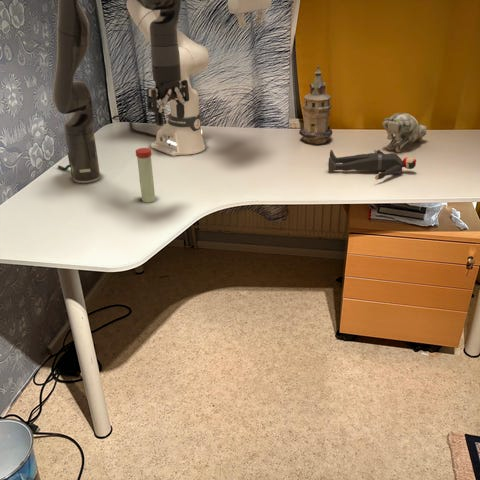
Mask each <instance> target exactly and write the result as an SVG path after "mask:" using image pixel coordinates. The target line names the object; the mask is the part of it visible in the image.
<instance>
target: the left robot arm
mask: <svg viewBox="0 0 480 480" xmlns="http://www.w3.org/2000/svg"><path fill="white" fill-rule="evenodd" d="M136 1H137V2H138V3H139V4H140V5H141V6H143V7H144V8H146V9H149V10H160V13H159V17H158V18H157V19H156V20H154V21H152V22H151V23H150V39H151V45H150V58H151V71H152V79H153V82H154V84H155V85H154V87H153V88H149V87H148V88H147V89H146V106H147V107H146V109H147V111H149V112H153V116H154V123H155V125H156V126H157V127H163V126H164V114H163V110H164V107H165V106H166V105H167V103H168V102H170V100H175V102H176V103H177V104H176V111H177V117H178V118H184V114H185V112H184V105H185V102H186V101H189V91H188V81H187V80H183V79H181V70H180V54H179V48H178V39H177V29H178V23H179V17H180V12H181V7H182V6H181V5H182V0H136ZM56 26H57V28H56V64H55V73H54V79H53V80H54V81H53V90H52V98H53V104H54V106H55V108H56V110H57V111H58V112H59V113H61V114H64V115H67V114H72V115H71V117H70V118H69V119H68V120H67V121H66V122H65V123H64V125H63V128H64V135H65V139H66V144H67V151H68V152H67V159H68V164H67V165H66V166H65V167H63V166H62V165H57V168H58V169H60V170H62V171H67V170H68V169H69V170H70V175H71V178H72V180H73V182H75V183H78V184H90V183H94V182H97V181H99V180H100V179H101V177H102V176H101V171H100V163H99V158H98V151H97V144H96V139H95V138H96V137H95V132H94V123H95V121H94V120H95V119H94V108H93V107H94V106H93V98H92V94H91V91H90V88H89V86H88V85H87V84H86V82H84V81H82V80H74V79H75V75H76V73H77V71H78V68H79V67H80V65H81V64H82V62H83V60H84V59H85V57H86V55H87V52H88V50H89V46H90V32H91V30H90V29H91V27H90V21H89V20H88V17H87V15H86V13H85V11H84V9H83V7H82V6H81V4H80V1H79V0H57V23H56ZM184 93H185V96H184Z"/></svg>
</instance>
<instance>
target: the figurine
mask: <svg viewBox="0 0 480 480" xmlns="http://www.w3.org/2000/svg"><path fill="white" fill-rule="evenodd" d="M381 126H382V127H383V129H384V130H385V131H386V132H387V137H386V140H389V141H390V143H389V144H388V145H387V146H386V149H387V150H388V151H393V149H394V146H395V145H396V144H397V143H398V144H397V146H396V147H395V152H396V153H401V151H402V148H403V147H404V146H405V145H406V144H407V143H414V142H423V138H424V137H425V136H426V135H427V130H428V128H427V126H426V125H423V124H419V122H418V120H417V119H416V118H415V117H414V116H413V115H412V114H410V113H405V112H397V113H394V114H392V115H391V116H390V117H385V118H384V119H383V121H382V122H381Z"/></svg>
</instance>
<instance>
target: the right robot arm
mask: <svg viewBox="0 0 480 480" xmlns="http://www.w3.org/2000/svg"><path fill="white" fill-rule="evenodd" d="M272 2H273V1H272V0H227V9H228V13H230V14H232V15H236V19H237V21H238V28H239V29H245V28H247V22H246V21H245V18H244V17H245V13H250V12H255V11H256V13H257V15H256V18H255V19H254V21H255V23H254V24H255V25H262V24H263V18H264V15H265V10H266V9H270V8H271V6H272ZM126 9H127V12H128V13H129V15H130V18H131V19H132V21H133V22H134V24H135V26H136V27H137V28H138V30H139V31H140V33H141V34H142V35H143V37H144V38H145V39H146V41H147V42H148V43H149V45H150V46H151V39H150V23H151V22H152V21H154V20H156V19H157V18H158V17H159V13H160V10H149V9H146V8H144V7H143V6H141V5H140V4H139V3H138V2H137V1H136V0H126ZM177 39H178V48H179V54H180V70H181V79H183V80H187V81H188V91H189V101H186V102H185V105H184V112H185V114H184V118H178V117H177V111H176V104H177V103H176V102H175V100H170V101H169V106H170V107H169V108H170V109H169V110H170V113H168V114H167V115H165V119H166V120H167V123H166V124H163V126H161V128H160V129H158V130H157V131H156V134H152V133H150V132H147V131H142V130H138V129H135V128H134V127H133V120H132V119H131V118H128V117H127V116H123V115H119V114H117V115H114V116H112V117H111V120H115V119H116V118H120V119H124V120H126V121H129V128H130V131H132V132H134V133H138V134H143V135H146V136H150V137H153V138H155V141H153V142H151V144H150V148H152V149H154V150H157V151H159V152H161V153H164V154H167V155H169V156H174V157H175V156H176V157H177V156H182V155H183V156H186V155H194V154H199V153H201V152H204V151H205V149H206V145H205V142H204V139H203V138H204V137H203V130H202V127H201V126H202V115H201V112H200V100H199V99H200V98H199V97H200V95H199V92H198V91H197V90H196V89H195V88H194V87H192V86H191V83H190V77H191V76H194V75H197V74H199V73H201V72H203V71H204V70H205V69H207V68H208V66H209V64H210V53H209V51H208V50H207V48H206V47H205V46H204V45H202V44H200V43H198V42H195V41H194V40H192V39H191V38H189V37H188V36H187V35H186V34H184V33H183V32H182V31H180V29H178V28H177ZM184 96H185V93H184Z"/></svg>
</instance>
